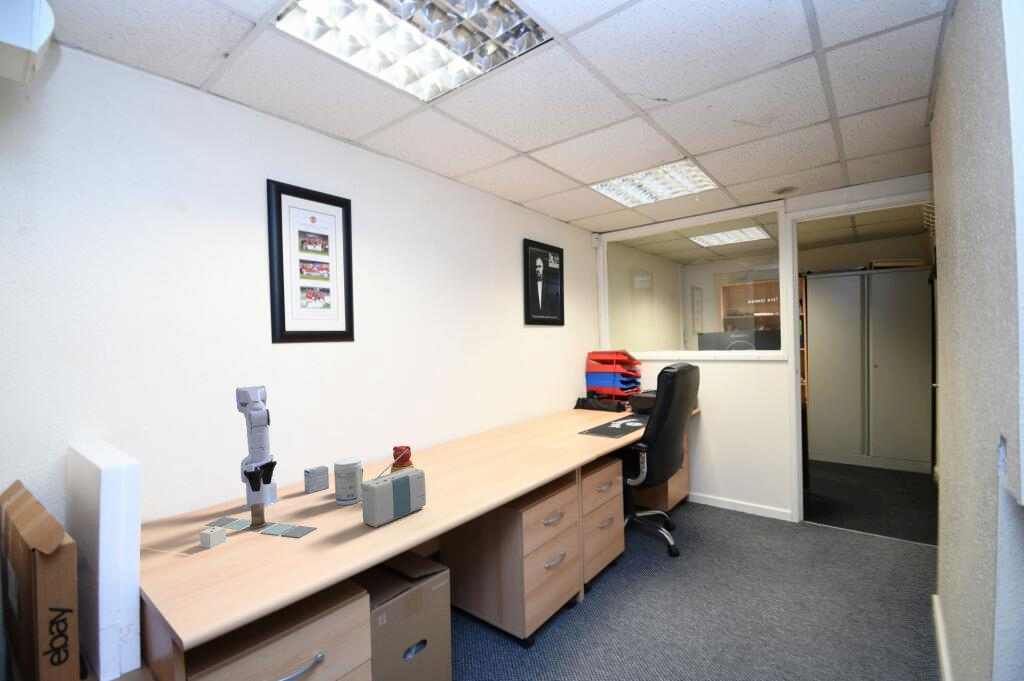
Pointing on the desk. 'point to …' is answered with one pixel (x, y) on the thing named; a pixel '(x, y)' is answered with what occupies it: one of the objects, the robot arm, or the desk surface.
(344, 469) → the supplement tub
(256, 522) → the pawn
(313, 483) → the medicine box
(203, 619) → the desk surface
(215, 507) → the desk surface
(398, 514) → the stereo radio cassette player
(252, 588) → the desk surface
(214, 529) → the die
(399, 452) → the stacking bear
